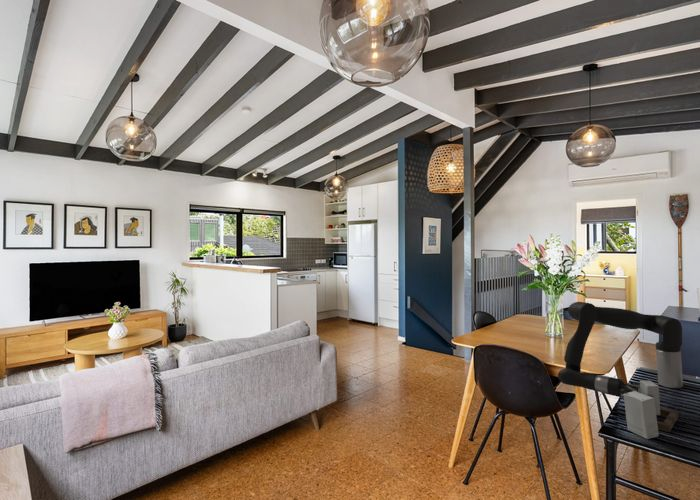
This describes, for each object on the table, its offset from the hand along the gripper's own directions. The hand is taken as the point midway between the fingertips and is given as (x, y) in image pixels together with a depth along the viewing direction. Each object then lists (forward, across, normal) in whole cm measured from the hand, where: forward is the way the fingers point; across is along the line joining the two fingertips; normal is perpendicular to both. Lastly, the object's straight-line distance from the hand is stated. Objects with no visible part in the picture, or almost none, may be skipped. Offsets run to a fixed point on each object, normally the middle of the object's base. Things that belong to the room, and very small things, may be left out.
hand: (656, 396), depth 154 cm
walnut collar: (-2, 0, +10) cm, 10 cm away
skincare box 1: (-2, 0, +8) cm, 8 cm away
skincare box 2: (-2, -14, +11) cm, 18 cm away
